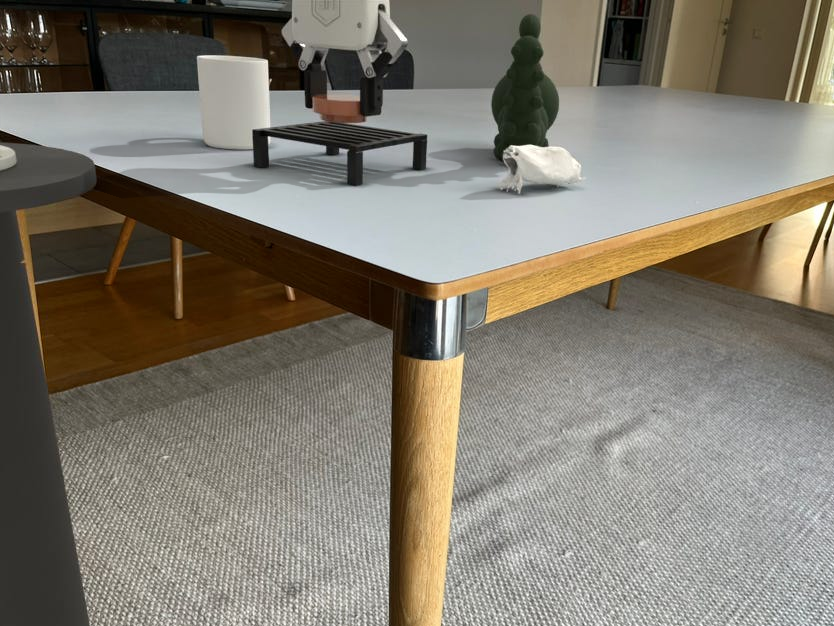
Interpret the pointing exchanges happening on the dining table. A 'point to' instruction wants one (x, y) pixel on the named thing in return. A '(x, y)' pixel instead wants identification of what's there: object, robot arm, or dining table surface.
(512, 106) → the toy figurine
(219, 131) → the mug
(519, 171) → the white lumpy oblong piece
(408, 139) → the rack
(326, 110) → the terracotta round box
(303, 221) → the dining table surface
